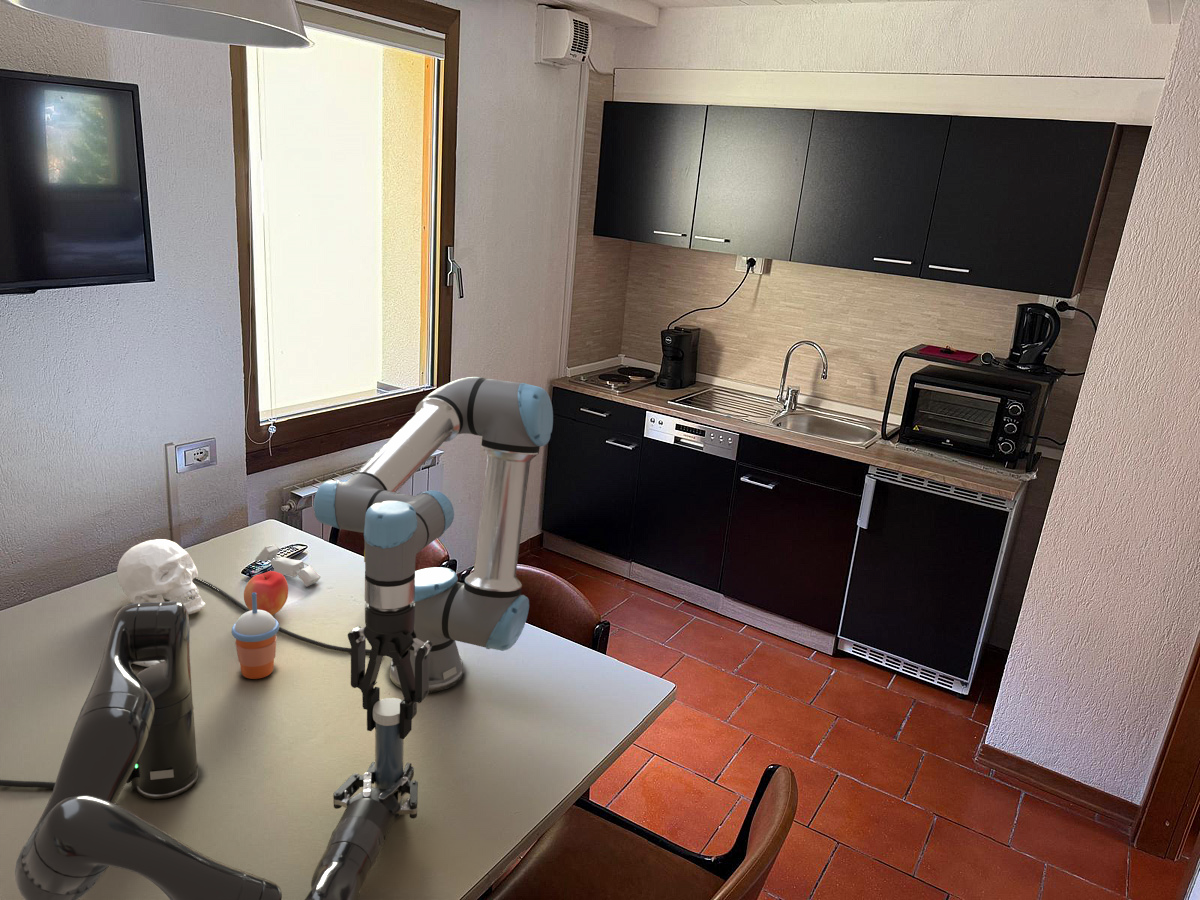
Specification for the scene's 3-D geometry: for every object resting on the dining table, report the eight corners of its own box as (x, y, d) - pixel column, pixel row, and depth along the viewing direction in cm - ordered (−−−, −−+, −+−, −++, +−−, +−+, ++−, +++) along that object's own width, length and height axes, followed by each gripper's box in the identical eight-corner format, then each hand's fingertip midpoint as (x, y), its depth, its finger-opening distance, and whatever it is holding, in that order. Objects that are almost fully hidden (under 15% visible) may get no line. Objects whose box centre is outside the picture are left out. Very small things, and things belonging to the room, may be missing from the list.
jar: (408, 809, 143) (409, 709, 138) (386, 822, 140) (386, 721, 134) (391, 796, 146) (392, 697, 140) (369, 809, 143) (369, 708, 137)
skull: (183, 627, 192) (180, 562, 188) (105, 607, 198) (100, 543, 194) (224, 603, 205) (222, 542, 200) (149, 585, 210) (146, 525, 206)
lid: (412, 716, 138) (412, 706, 138) (386, 730, 134) (386, 720, 134) (392, 703, 141) (392, 693, 141) (366, 716, 137) (366, 706, 137)
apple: (273, 600, 207) (272, 562, 204) (297, 613, 202) (296, 575, 199) (237, 614, 200) (234, 575, 197) (261, 628, 194) (259, 588, 191)
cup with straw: (265, 686, 173) (261, 607, 168) (224, 678, 175) (219, 599, 169) (289, 663, 182) (286, 587, 176) (250, 656, 183) (246, 580, 178)
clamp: (253, 565, 223) (254, 542, 221) (265, 560, 226) (266, 537, 224) (309, 593, 215) (310, 569, 213) (320, 588, 218) (321, 564, 216)
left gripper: (312, 852, 129) (353, 778, 145) (404, 865, 128) (435, 789, 144) (311, 811, 127) (353, 741, 143) (405, 824, 126) (436, 751, 142)
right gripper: (454, 601, 133) (450, 729, 140) (350, 580, 137) (351, 705, 144) (433, 623, 126) (430, 756, 133) (324, 600, 130) (326, 730, 137)
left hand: (394, 765), depth 144 cm, fingers closed on jar, 4 cm apart
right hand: (389, 729), depth 138 cm, fingers closed on lid, 5 cm apart
